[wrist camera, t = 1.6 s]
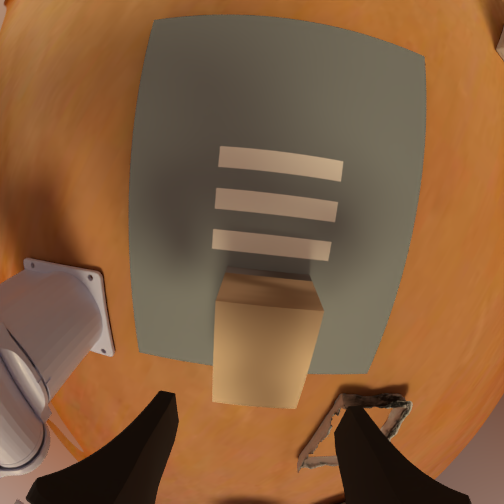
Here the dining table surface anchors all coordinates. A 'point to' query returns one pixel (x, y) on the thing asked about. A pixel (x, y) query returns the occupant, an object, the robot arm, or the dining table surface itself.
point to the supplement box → (501, 45)
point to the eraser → (264, 337)
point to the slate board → (272, 176)
